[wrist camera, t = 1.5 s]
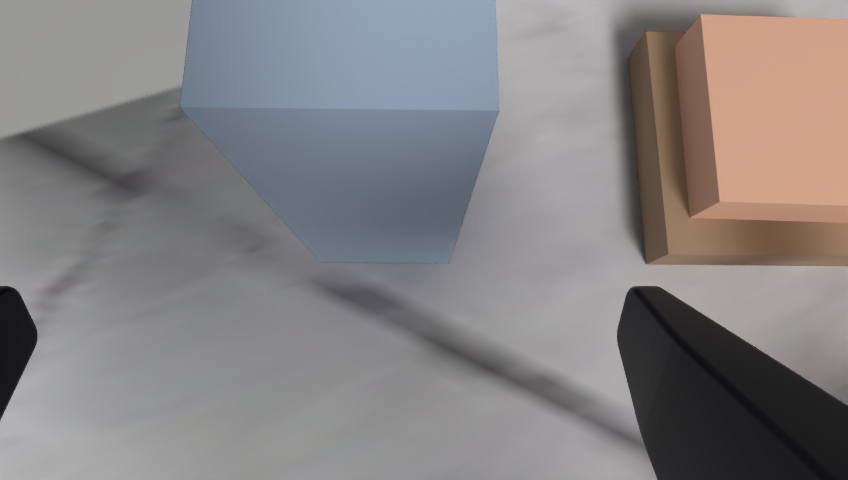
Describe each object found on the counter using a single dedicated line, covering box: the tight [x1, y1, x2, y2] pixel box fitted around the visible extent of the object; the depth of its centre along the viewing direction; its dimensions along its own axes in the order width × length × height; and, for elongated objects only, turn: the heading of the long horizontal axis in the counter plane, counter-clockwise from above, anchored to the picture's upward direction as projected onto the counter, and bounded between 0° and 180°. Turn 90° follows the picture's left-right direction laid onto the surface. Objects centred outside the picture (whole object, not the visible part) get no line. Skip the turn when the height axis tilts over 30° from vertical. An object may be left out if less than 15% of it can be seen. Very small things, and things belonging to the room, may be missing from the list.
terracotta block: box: [675, 14, 848, 223], centre depth 20 cm, size 7×7×2 cm
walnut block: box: [628, 31, 848, 266], centre depth 22 cm, size 9×9×2 cm
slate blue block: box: [180, 0, 499, 263], centre depth 15 cm, size 5×5×13 cm
